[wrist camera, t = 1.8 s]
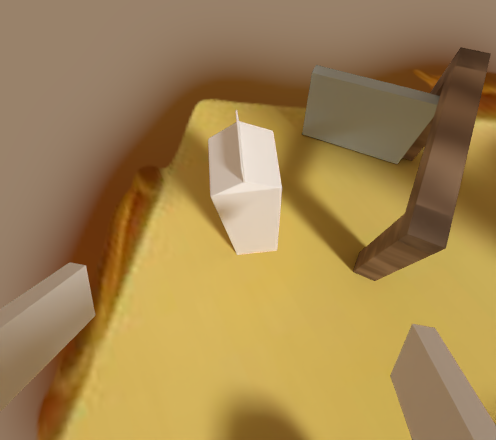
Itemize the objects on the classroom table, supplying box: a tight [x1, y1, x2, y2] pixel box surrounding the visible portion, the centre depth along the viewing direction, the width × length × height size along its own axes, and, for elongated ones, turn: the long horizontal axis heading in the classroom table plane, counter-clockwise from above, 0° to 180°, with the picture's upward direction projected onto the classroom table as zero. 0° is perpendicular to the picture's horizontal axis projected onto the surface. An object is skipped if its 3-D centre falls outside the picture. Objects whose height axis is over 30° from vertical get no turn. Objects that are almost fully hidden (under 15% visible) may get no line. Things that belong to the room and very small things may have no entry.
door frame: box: [353, 48, 490, 281], centre depth 33 cm, size 24×3×16 cm, turn 154°
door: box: [302, 65, 440, 164], centre depth 39 cm, size 16×3×12 cm, turn 64°
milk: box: [208, 110, 282, 255], centre depth 30 cm, size 6×6×22 cm
